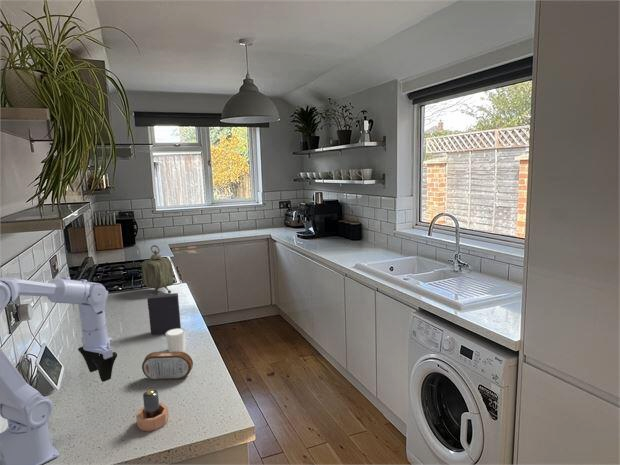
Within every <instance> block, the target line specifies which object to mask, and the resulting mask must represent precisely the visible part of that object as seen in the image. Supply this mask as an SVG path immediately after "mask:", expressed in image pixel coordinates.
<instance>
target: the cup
mask: <svg viewBox="0 0 620 465" xmlns="http://www.w3.org/2000/svg"><path fill="white" fill-rule="evenodd" d="M159 410H160V415H158V416H156V417H154V418H145V409H144V406H143V407H142V408H139V410H138V412H136V413H137V414H136V415H135V417H136V419H135V420H136V425H137V427H138V428H139V430H141V431H143V432H153V431H156V430H159V429H161V428H162V427H164V426H165V425H167V422H168V421H169V416H170V415H169V414H170V413H169V407H168V406H167V405H165V404H164V403H163V402H161V403H160V402H159Z"/></svg>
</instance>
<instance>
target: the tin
mask: <svg viewBox="0 0 620 465" xmlns="http://www.w3.org/2000/svg"><path fill="white" fill-rule="evenodd" d="M193 366H194V362H193V359H192V356H190V355H189V354H188V353H187V352H185V351H183V352H181V351H175V352H169V351H154V352H149V354H147V355H146V356H145V358H144V360H143V362H142V364H141V369H142V373H143V374H144V376H145V377H146V378H148V379H150V380H155V381H156V380H157V381H158V380H159V381H162V380H182V379H185V378H186V377H188V375H189V374H190V373H191V372H192V369H193Z"/></svg>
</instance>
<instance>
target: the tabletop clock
mask: <svg viewBox="0 0 620 465" xmlns="http://www.w3.org/2000/svg"><path fill="white" fill-rule="evenodd" d="M153 247H155V248H157V250H158V251H157V250H153ZM150 249H151V252H152V253H153V254H152V255H151V256H150V259H145V260H144V261H142V262H141V265H140V266H141V277H142V281H143V282H142V283H143V285H145V287H149V288H152V289H154V291H153V295H158V293H157V292H158V290H159V289H162V288H164V289H165V290H166V291H167V294H172V291H171V289H169V288H168V287H169V286H172V285H174V271H173V269H174V268H173V264H172V260H170V259H169V258H166V257H162V256H161V255H160V254H159V253H160V252H161V251H160V250H161V249H160V247H158V245H155V244H154V245H152V246H151V247H150Z"/></svg>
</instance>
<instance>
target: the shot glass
mask: <svg viewBox="0 0 620 465" xmlns="http://www.w3.org/2000/svg"><path fill="white" fill-rule="evenodd" d="M186 331H187V330H186V329H184V328H183V327H181V328H175V329H171V330H169V331H167V332H166V333H164V334H165V338H166V344H167V349H168V352H175V351H181V352H185V351H186V344H187V343H186V337H187V336H186V333H187V332H186Z"/></svg>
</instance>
